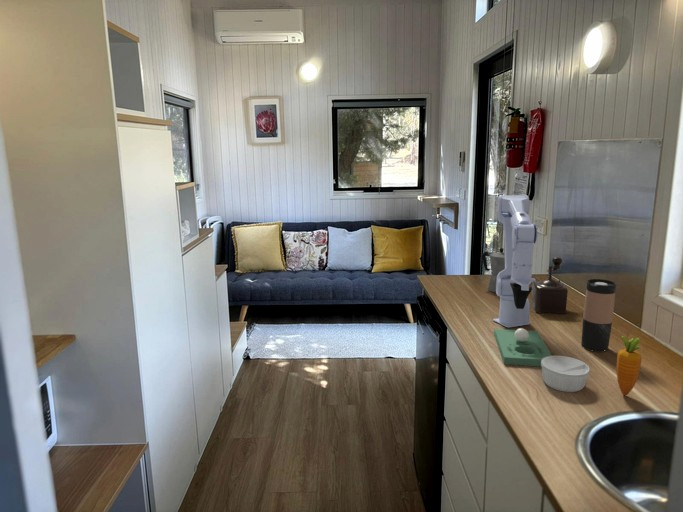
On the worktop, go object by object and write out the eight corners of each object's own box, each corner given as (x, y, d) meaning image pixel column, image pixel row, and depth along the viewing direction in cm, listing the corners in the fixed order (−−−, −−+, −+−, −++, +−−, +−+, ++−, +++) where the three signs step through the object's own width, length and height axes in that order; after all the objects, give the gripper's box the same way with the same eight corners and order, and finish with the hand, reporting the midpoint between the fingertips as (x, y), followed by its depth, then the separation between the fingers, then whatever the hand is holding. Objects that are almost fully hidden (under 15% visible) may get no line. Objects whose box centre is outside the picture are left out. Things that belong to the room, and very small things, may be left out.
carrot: (608, 391, 120) (615, 333, 117) (627, 390, 120) (634, 332, 117) (621, 401, 115) (628, 341, 112) (641, 400, 116) (649, 340, 112)
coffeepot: (519, 291, 204) (522, 248, 200) (508, 295, 198) (511, 252, 194) (485, 284, 215) (488, 243, 211) (474, 288, 208) (476, 246, 205)
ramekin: (585, 399, 117) (587, 378, 115) (535, 387, 122) (537, 367, 121) (590, 380, 126) (592, 361, 125) (543, 370, 132) (545, 352, 131)
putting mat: (494, 334, 157) (494, 328, 156) (537, 337, 154) (537, 331, 154) (503, 363, 136) (504, 357, 135) (553, 367, 133) (554, 360, 133)
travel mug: (606, 343, 149) (614, 280, 144) (611, 353, 142) (619, 286, 137) (578, 340, 151) (585, 278, 147) (581, 350, 144) (588, 284, 140)
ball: (522, 338, 148) (522, 325, 148) (531, 342, 145) (532, 330, 144) (511, 339, 147) (511, 327, 146) (520, 344, 143) (521, 331, 143)
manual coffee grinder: (568, 314, 175) (573, 265, 171) (535, 313, 177) (539, 264, 173) (558, 301, 190) (562, 256, 186) (528, 300, 192) (531, 255, 188)
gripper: (541, 269, 140) (538, 315, 143) (531, 259, 154) (528, 301, 157) (515, 268, 141) (512, 314, 144) (508, 258, 155) (505, 300, 158)
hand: (519, 307), depth 151 cm, fingers closed
